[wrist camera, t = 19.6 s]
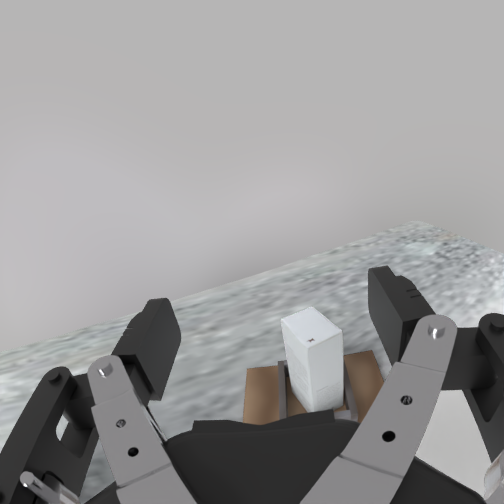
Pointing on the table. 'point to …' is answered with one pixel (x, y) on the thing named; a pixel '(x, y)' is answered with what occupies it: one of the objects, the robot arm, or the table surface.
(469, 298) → the table surface
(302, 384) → the skincare box
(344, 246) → the table surface
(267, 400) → the holder
